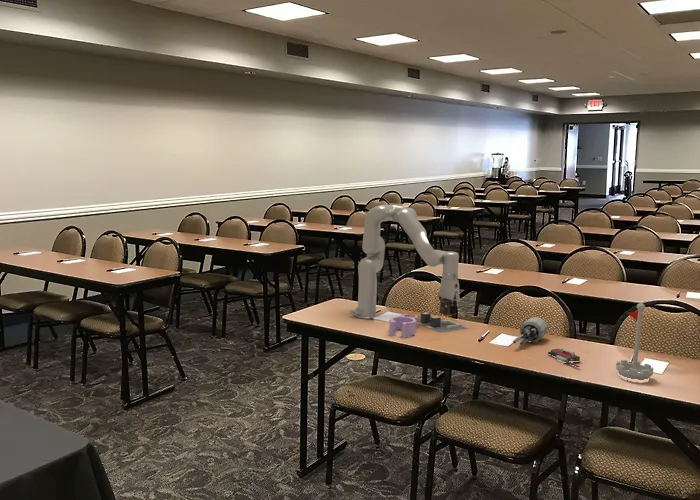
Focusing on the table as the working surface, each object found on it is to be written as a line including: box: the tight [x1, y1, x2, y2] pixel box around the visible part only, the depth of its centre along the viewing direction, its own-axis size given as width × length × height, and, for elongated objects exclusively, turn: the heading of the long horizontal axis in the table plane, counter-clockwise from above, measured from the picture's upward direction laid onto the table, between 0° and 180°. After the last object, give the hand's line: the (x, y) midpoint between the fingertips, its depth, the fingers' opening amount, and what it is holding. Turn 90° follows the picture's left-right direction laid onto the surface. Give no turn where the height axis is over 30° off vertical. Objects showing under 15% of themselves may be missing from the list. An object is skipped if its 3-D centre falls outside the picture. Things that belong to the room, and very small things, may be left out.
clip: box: [388, 313, 419, 339], centre depth 284 cm, size 20×12×7 cm, turn 154°
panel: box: [418, 318, 469, 333], centre depth 295 cm, size 18×20×2 cm
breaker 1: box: [419, 312, 432, 323], centre depth 300 cm, size 4×3×5 cm
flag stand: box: [615, 302, 654, 380], centre depth 229 cm, size 13×13×30 cm
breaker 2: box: [430, 315, 442, 327], centre depth 293 cm, size 4×3×5 cm
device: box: [512, 316, 548, 346], centre depth 272 cm, size 31×10×10 cm, turn 149°
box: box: [439, 299, 457, 317], centre depth 296 cm, size 6×6×7 cm
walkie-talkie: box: [547, 348, 581, 368], centre depth 249 cm, size 9×4×20 cm
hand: (447, 311), depth 296 cm, fingers closed on box, 6 cm apart
